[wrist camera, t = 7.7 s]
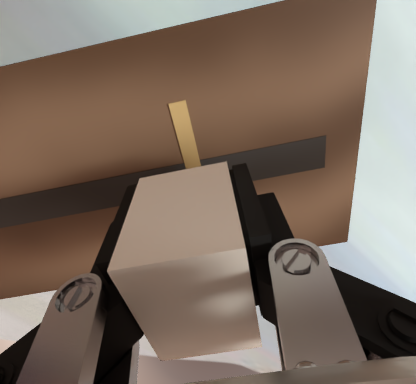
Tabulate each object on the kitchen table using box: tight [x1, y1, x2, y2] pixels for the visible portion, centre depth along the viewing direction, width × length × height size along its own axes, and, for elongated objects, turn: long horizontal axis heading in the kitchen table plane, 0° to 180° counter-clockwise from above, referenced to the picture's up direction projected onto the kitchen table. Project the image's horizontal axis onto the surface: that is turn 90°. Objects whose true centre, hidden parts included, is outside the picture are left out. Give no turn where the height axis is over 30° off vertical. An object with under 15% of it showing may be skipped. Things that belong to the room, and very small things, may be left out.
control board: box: [0, 0, 377, 299], centre depth 14 cm, size 12×24×3 cm, turn 101°
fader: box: [107, 161, 262, 361], centre depth 9 cm, size 4×3×7 cm
